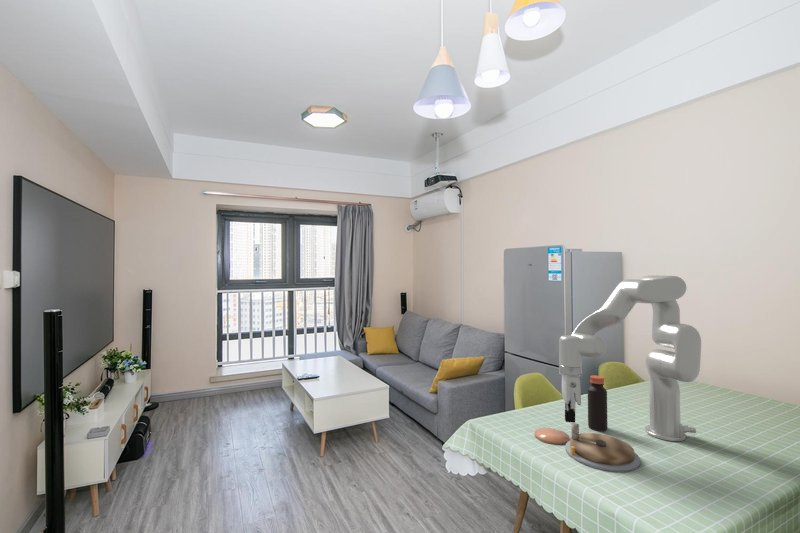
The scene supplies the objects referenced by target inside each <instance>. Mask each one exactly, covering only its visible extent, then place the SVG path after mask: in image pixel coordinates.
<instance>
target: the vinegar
mask: <svg viewBox="0 0 800 533" xmlns="http://www.w3.org/2000/svg"><path fill="white" fill-rule="evenodd" d="M589 383H590V386H589V387H587V426H588V428H589V429H591V430H593V431H597V432H605V431H607V430H608V391H607V389H606V388H605V387H604V385H605V377H604V376H601V375H590V376H589Z"/></svg>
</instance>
